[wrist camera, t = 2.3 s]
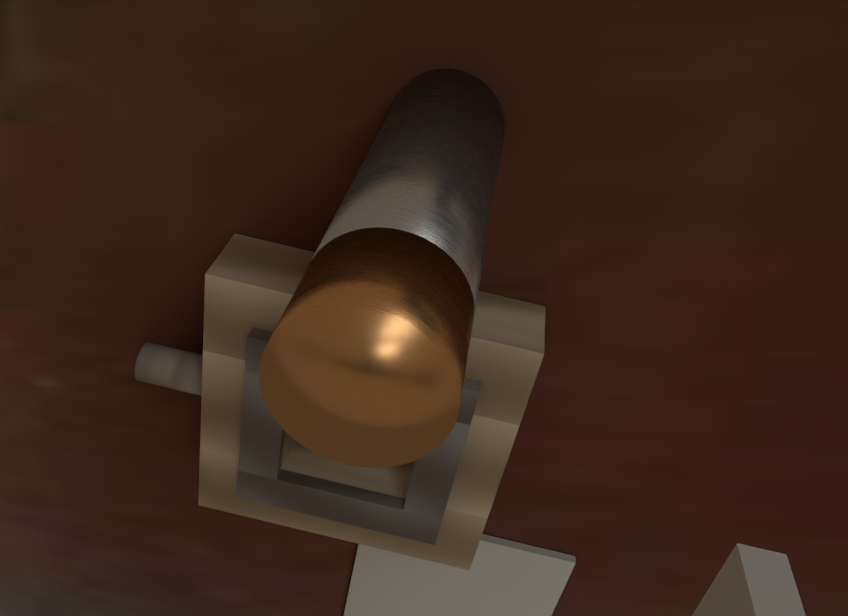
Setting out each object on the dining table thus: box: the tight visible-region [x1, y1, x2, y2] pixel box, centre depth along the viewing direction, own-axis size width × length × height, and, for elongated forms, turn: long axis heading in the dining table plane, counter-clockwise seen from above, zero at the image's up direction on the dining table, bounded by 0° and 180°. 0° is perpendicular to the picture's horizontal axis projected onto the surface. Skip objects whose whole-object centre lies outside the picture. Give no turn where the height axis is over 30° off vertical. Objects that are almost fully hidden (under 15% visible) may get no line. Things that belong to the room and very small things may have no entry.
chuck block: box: [135, 234, 546, 570], centre depth 31 cm, size 12×15×4 cm
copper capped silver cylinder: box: [259, 69, 505, 468], centre depth 20 cm, size 4×4×14 cm
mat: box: [344, 534, 576, 616], centre depth 39 cm, size 10×10×1 cm
